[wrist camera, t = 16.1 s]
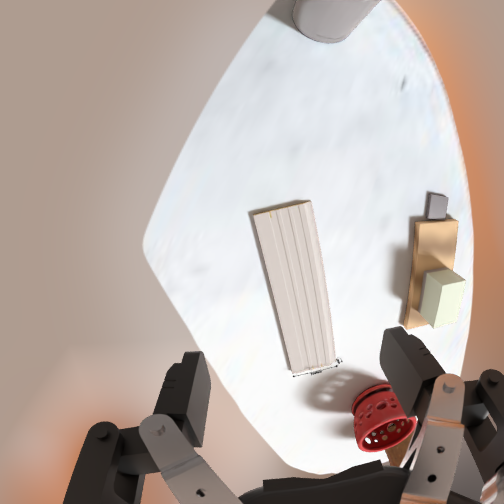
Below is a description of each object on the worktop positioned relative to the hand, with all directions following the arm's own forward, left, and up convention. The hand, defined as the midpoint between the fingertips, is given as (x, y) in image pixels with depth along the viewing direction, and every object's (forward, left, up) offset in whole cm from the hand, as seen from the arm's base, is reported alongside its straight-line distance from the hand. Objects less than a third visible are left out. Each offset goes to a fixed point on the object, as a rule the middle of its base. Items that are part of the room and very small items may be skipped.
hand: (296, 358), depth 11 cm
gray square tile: (+1, +29, -31) cm, 42 cm away
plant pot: (+43, +21, -30) cm, 57 cm away
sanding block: (+15, +29, -29) cm, 44 cm away
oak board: (+13, +29, -30) cm, 44 cm away
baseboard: (+14, +5, -31) cm, 34 cm away
